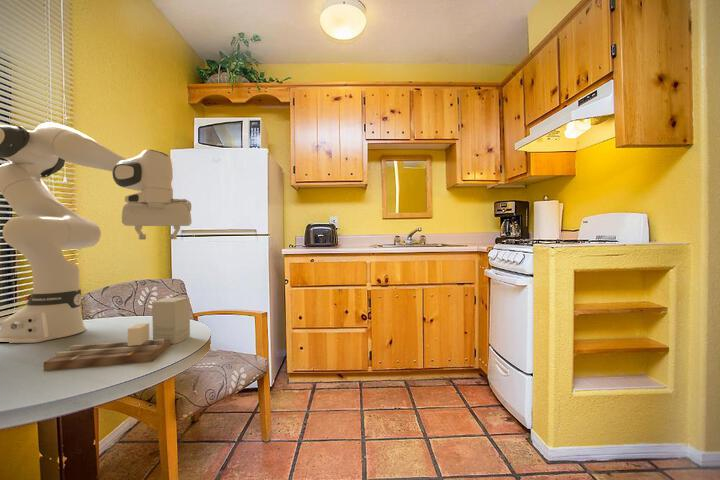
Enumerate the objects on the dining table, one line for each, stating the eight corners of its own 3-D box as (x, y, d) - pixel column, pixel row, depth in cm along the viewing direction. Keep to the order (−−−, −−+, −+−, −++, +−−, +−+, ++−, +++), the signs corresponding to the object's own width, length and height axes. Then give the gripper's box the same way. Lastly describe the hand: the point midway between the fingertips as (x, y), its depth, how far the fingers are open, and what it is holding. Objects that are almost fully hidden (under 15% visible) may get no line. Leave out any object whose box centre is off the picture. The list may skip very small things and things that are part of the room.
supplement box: (190, 337, 100) (190, 297, 100) (175, 344, 93) (174, 301, 93) (169, 336, 101) (168, 297, 101) (151, 344, 94) (151, 301, 94)
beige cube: (123, 350, 81) (123, 329, 81) (132, 343, 86) (132, 324, 86) (145, 348, 82) (145, 327, 82) (153, 342, 87) (153, 322, 87)
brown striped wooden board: (43, 370, 75) (43, 357, 75) (77, 353, 86) (76, 342, 86) (152, 361, 80) (152, 349, 80) (170, 346, 91) (170, 335, 91)
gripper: (193, 200, 112) (194, 239, 112) (128, 199, 108) (129, 239, 108) (188, 197, 106) (188, 239, 106) (118, 196, 102) (119, 239, 102)
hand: (158, 239), depth 107 cm, fingers open, 8 cm apart
